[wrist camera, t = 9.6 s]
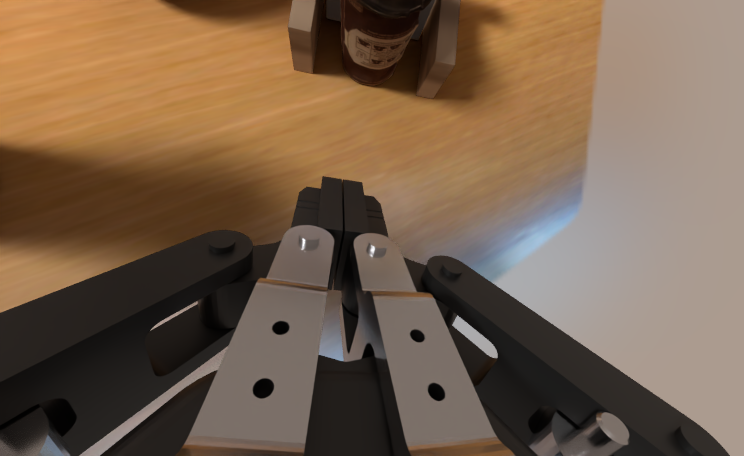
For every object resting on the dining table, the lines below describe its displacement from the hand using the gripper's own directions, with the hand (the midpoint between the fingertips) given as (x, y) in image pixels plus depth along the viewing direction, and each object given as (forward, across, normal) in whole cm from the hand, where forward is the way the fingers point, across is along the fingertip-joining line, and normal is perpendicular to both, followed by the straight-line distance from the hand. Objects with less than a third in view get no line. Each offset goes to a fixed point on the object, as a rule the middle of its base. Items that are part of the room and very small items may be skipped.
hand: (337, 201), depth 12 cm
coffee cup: (+29, -3, -3) cm, 29 cm away
